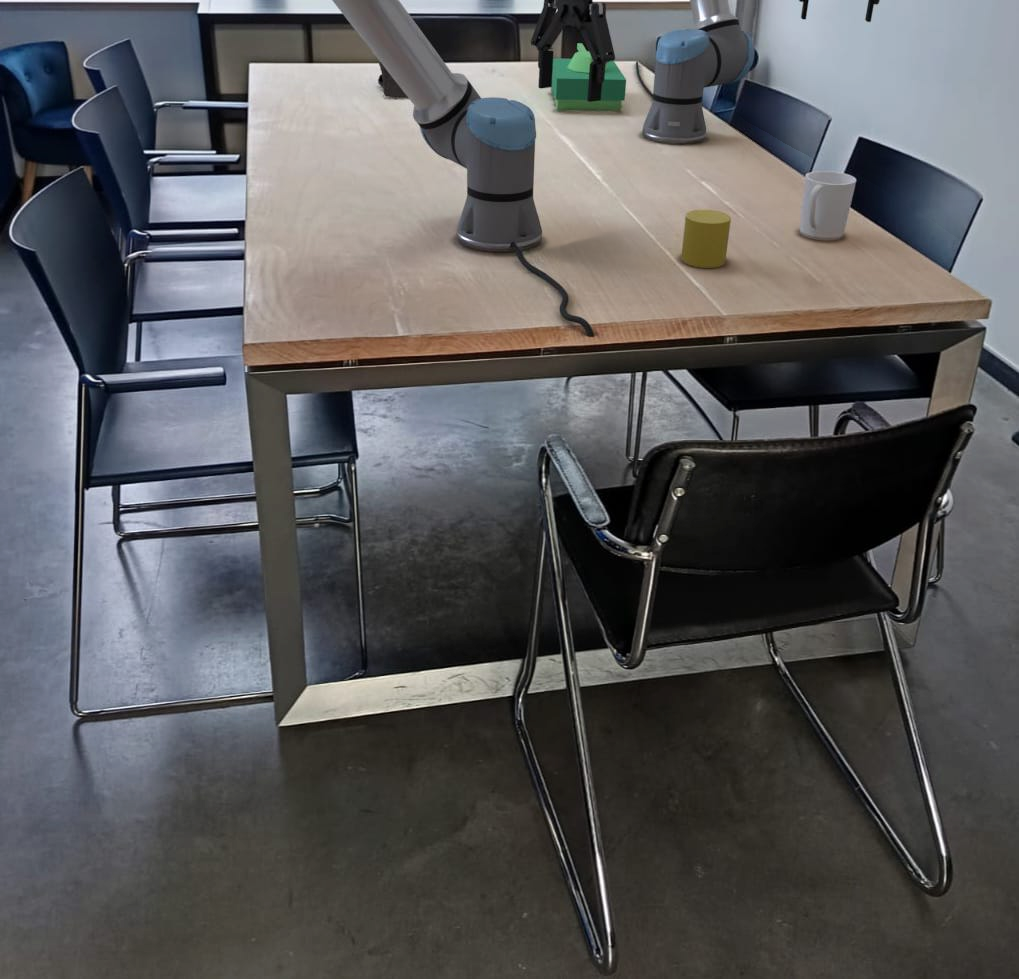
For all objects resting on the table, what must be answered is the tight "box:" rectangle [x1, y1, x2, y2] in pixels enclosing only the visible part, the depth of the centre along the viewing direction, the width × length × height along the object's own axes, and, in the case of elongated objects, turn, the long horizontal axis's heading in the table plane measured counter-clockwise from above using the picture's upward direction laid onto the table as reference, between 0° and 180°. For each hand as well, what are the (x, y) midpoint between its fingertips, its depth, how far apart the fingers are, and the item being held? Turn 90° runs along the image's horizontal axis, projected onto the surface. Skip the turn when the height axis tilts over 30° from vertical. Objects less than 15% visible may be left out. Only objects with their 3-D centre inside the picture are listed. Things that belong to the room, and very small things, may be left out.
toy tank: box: [550, 42, 627, 112], centre depth 293 cm, size 18×12×35 cm
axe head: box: [377, 61, 409, 99], centre depth 299 cm, size 18×8×15 cm
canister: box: [680, 209, 732, 269], centre depth 187 cm, size 8×8×8 cm
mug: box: [798, 170, 857, 241], centre depth 199 cm, size 11×9×10 cm
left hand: (569, 94), depth 204 cm, fingers open, 13 cm apart
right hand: (835, 19), depth 235 cm, fingers open, 13 cm apart
